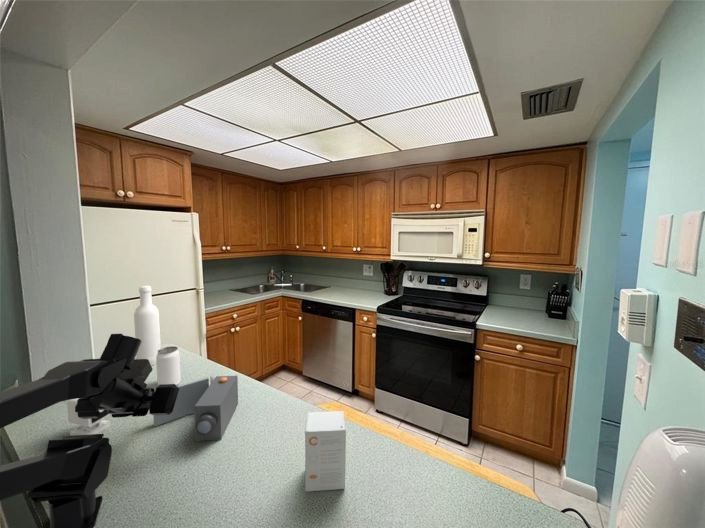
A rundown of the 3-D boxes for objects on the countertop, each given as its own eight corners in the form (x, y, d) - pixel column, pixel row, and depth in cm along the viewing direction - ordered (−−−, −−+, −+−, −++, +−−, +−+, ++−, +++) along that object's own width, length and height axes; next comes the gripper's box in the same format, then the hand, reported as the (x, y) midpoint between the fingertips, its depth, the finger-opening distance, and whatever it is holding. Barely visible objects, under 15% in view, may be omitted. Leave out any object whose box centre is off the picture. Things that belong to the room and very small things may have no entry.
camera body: (218, 446, 68) (216, 407, 67) (184, 448, 67) (182, 409, 66) (238, 403, 85) (237, 372, 84) (212, 404, 84) (211, 372, 83)
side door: (207, 403, 84) (206, 376, 83) (209, 406, 82) (208, 378, 82) (153, 423, 75) (151, 392, 74) (154, 426, 74) (152, 395, 73)
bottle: (159, 356, 115) (155, 283, 112) (164, 362, 110) (160, 286, 107) (134, 362, 109) (129, 286, 106) (138, 369, 104) (133, 289, 101)
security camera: (90, 442, 68) (86, 403, 67) (67, 437, 70) (63, 399, 68) (116, 425, 74) (114, 389, 73) (95, 421, 76) (92, 385, 75)
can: (159, 381, 96) (157, 347, 95) (181, 377, 99) (180, 344, 98) (155, 391, 90) (153, 355, 89) (179, 386, 93) (177, 352, 92)
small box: (343, 464, 63) (344, 410, 62) (345, 490, 57) (346, 429, 56) (306, 466, 63) (307, 411, 61) (304, 492, 56) (304, 431, 55)
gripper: (173, 352, 65) (196, 374, 77) (83, 355, 63) (121, 377, 75) (155, 406, 58) (183, 420, 70) (53, 410, 56) (100, 425, 68)
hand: (147, 409), depth 71 cm, fingers closed
